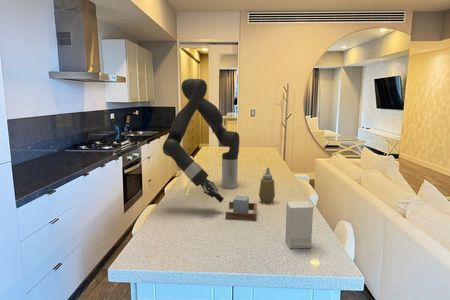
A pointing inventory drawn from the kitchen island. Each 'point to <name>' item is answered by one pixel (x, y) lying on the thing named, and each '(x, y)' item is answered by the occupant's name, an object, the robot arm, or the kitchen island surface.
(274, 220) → the kitchen island surface
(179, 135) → the robot arm
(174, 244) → the kitchen island surface
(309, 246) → the skincare box
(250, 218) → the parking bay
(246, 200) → the slate block
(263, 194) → the squeeze bottle
